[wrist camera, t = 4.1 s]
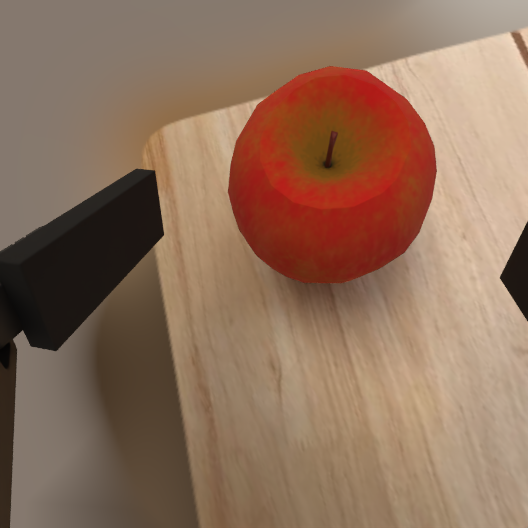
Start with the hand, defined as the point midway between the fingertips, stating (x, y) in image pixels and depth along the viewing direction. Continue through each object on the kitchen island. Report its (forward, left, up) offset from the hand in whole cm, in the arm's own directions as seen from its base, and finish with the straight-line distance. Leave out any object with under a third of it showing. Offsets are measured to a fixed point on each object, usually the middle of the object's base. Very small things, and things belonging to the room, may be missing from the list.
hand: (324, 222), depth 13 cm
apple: (0, +2, -9) cm, 9 cm away
